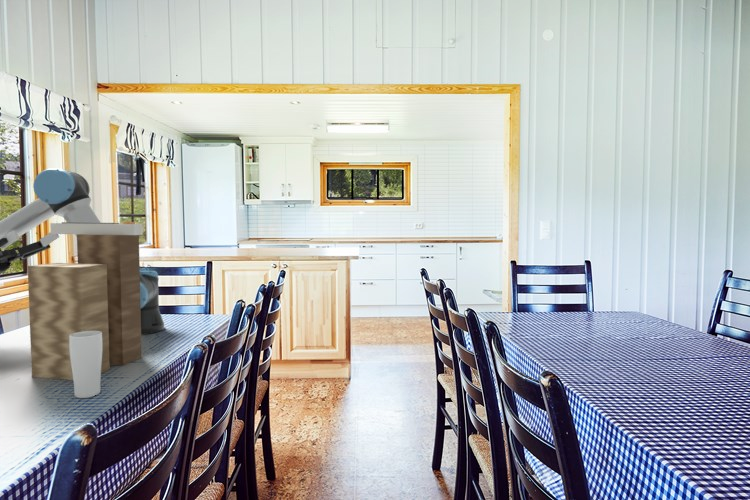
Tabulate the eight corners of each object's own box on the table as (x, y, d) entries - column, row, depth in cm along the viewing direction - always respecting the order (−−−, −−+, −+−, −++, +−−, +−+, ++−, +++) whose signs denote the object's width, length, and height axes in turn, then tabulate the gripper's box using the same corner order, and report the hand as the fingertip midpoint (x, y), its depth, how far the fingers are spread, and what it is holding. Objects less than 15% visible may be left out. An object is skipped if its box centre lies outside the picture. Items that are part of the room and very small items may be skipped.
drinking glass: (80, 390, 112) (79, 330, 111) (109, 389, 112) (107, 330, 112) (64, 400, 105) (62, 337, 104) (94, 400, 106) (93, 337, 105)
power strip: (50, 233, 135) (50, 221, 135) (61, 233, 138) (60, 221, 138) (134, 235, 130) (133, 222, 130) (142, 234, 134) (142, 222, 133)
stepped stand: (31, 376, 121) (26, 235, 119) (93, 354, 142) (89, 233, 139) (87, 381, 118) (82, 236, 116) (141, 357, 139) (138, 234, 136)
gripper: (31, 272, 157) (76, 242, 153) (-48, 280, 132) (3, 246, 128) (22, 253, 157) (66, 223, 153) (-59, 258, 133) (-9, 223, 129)
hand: (37, 233), depth 141 cm, fingers open, 13 cm apart
